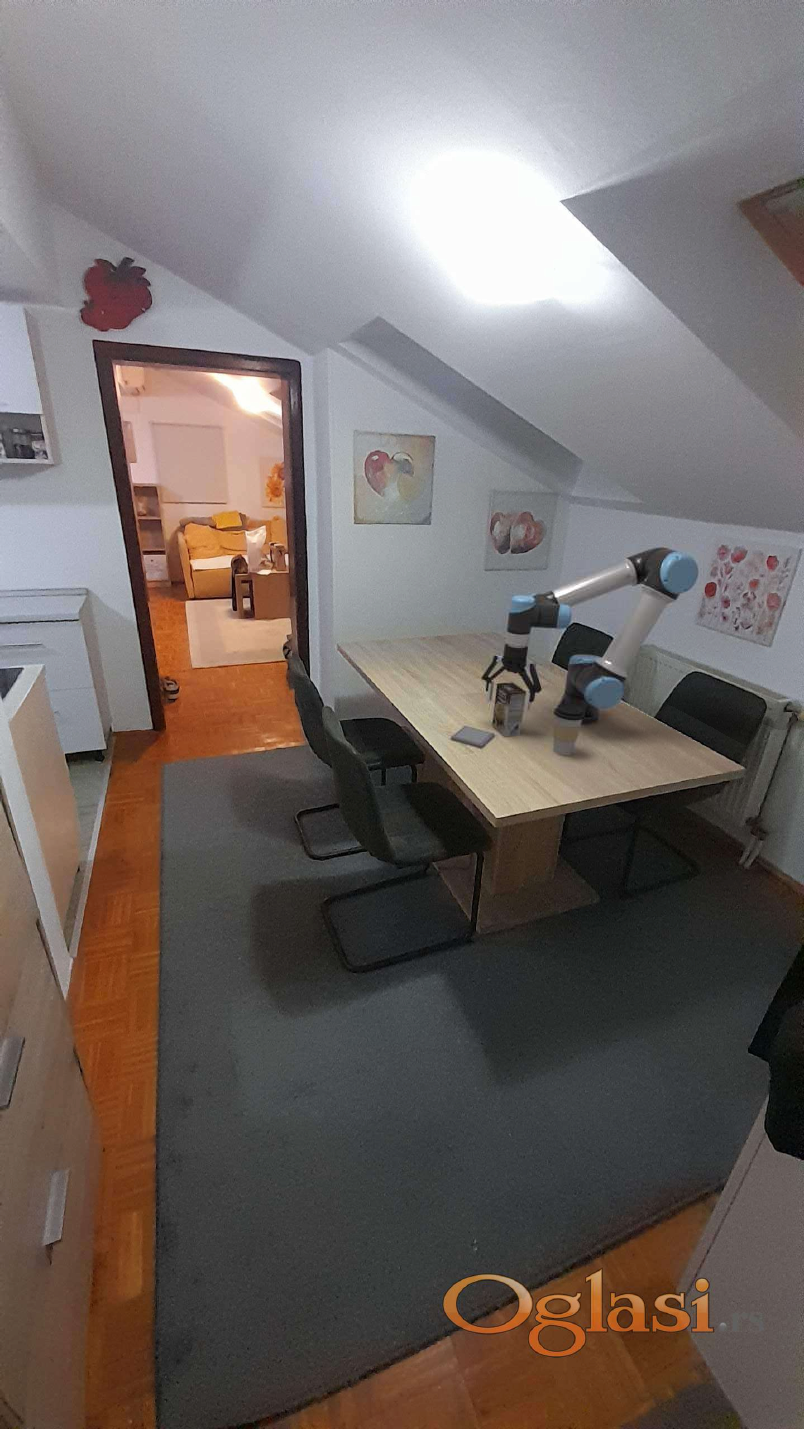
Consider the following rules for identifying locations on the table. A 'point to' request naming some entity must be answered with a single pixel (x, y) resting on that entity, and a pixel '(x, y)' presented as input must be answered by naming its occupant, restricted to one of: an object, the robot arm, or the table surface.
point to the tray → (473, 737)
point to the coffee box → (508, 709)
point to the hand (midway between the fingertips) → (508, 705)
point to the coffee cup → (566, 727)
